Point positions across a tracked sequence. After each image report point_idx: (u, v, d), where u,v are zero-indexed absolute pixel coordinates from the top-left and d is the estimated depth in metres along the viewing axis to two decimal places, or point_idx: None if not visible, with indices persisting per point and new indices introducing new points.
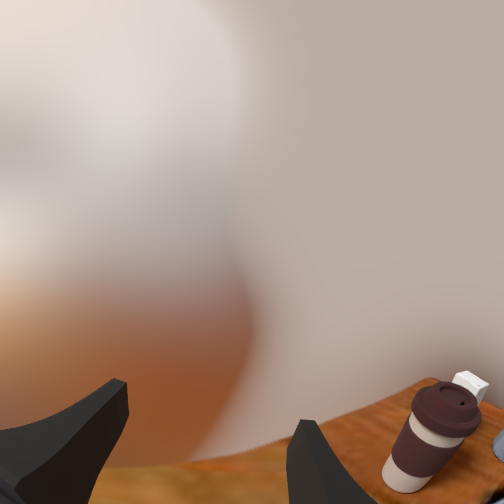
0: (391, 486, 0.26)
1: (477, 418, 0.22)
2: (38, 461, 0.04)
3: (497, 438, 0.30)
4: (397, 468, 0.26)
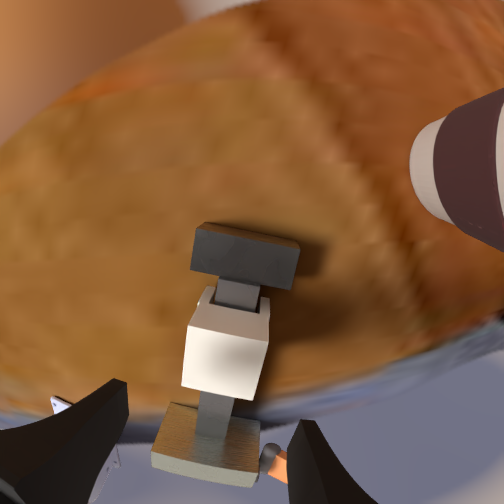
0: (413, 185, 0.17)
1: None
2: (38, 461, 0.04)
3: None
4: (432, 170, 0.14)
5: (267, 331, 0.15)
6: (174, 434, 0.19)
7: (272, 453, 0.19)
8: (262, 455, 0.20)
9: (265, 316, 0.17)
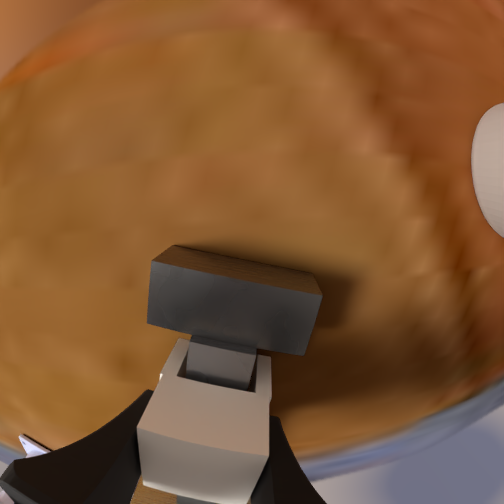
0: (478, 191, 0.11)
1: None
2: (88, 487, 0.04)
3: None
4: None
5: (267, 431, 0.08)
6: None
7: None
8: None
9: (265, 397, 0.10)
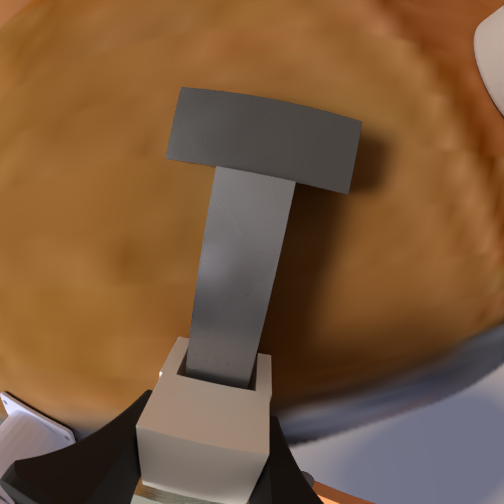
0: (486, 79, 0.09)
1: None
2: (89, 488, 0.04)
3: None
4: None
5: (267, 429, 0.08)
6: None
7: None
8: None
9: (265, 395, 0.10)
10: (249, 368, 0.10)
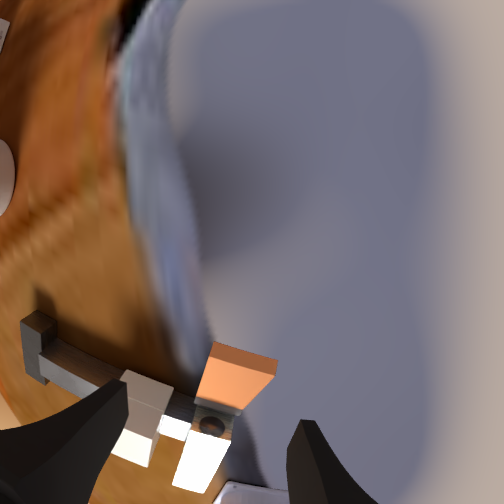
0: None
1: None
2: (38, 461, 0.04)
3: None
4: None
5: None
6: (180, 457, 0.19)
7: None
8: None
9: None
10: None
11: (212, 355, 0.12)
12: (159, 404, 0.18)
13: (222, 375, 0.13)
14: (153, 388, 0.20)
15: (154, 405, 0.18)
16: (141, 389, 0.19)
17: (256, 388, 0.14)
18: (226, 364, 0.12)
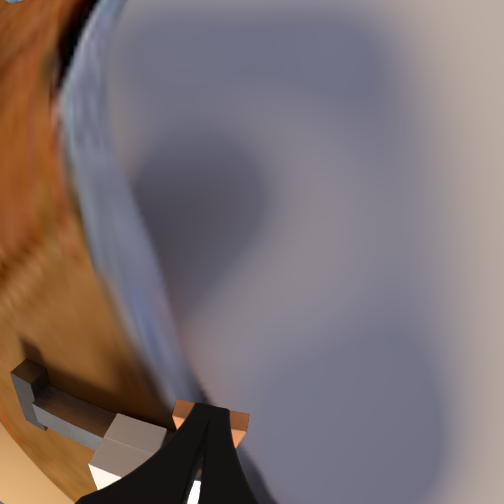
0: None
1: None
2: None
3: None
4: None
5: (94, 454, 0.14)
6: None
7: None
8: None
9: (105, 438, 0.16)
10: (97, 437, 0.17)
11: (176, 414, 0.10)
12: (151, 448, 0.16)
13: None
14: (145, 431, 0.18)
15: (146, 449, 0.16)
16: (133, 433, 0.17)
17: (234, 439, 0.12)
18: None
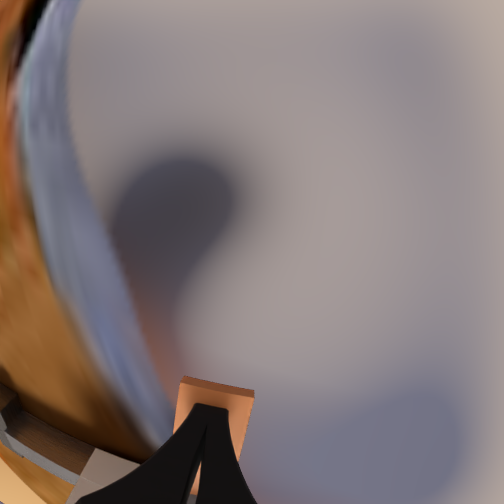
0: None
1: None
2: None
3: None
4: None
5: (69, 496, 0.10)
6: None
7: None
8: None
9: (81, 477, 0.12)
10: (74, 474, 0.12)
11: (183, 382, 0.11)
12: None
13: None
14: (126, 471, 0.13)
15: None
16: (112, 473, 0.13)
17: (237, 437, 0.11)
18: (199, 393, 0.11)
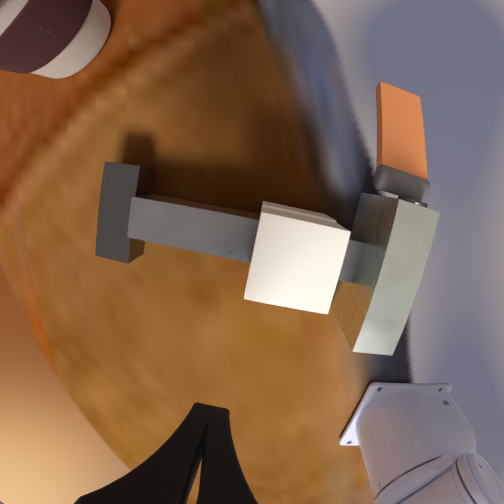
0: (79, 68, 0.16)
1: None
2: None
3: None
4: (44, 66, 0.13)
5: (261, 211, 0.14)
6: (349, 311, 0.16)
7: (382, 169, 0.14)
8: (394, 183, 0.14)
9: (262, 209, 0.15)
10: (243, 219, 0.16)
11: (381, 82, 0.15)
12: (325, 217, 0.16)
13: (394, 103, 0.15)
14: (306, 211, 0.17)
15: (321, 216, 0.16)
16: (294, 209, 0.17)
17: (419, 118, 0.15)
18: (392, 88, 0.15)
